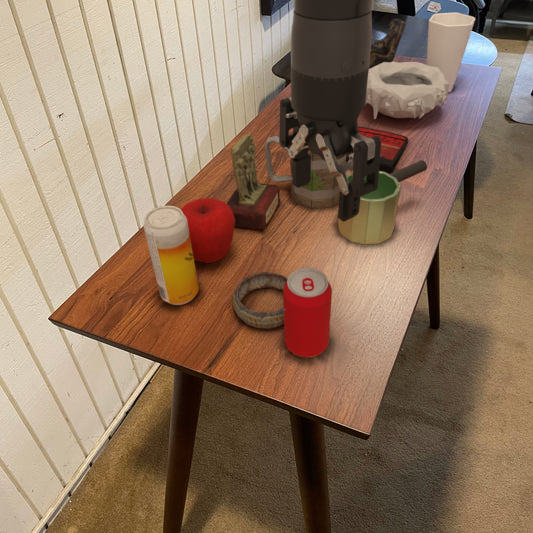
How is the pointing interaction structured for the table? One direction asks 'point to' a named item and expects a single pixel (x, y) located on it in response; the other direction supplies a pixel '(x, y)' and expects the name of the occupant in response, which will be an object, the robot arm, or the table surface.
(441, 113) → the table surface
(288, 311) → the beverage can
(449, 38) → the cup
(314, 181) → the mug
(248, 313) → the decorative ring
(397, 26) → the statue
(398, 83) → the bowl
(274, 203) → the sculpture
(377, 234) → the pot
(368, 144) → the robot arm
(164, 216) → the beer can
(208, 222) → the apple
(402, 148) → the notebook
